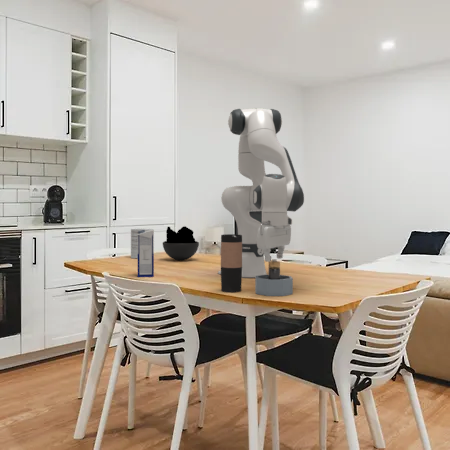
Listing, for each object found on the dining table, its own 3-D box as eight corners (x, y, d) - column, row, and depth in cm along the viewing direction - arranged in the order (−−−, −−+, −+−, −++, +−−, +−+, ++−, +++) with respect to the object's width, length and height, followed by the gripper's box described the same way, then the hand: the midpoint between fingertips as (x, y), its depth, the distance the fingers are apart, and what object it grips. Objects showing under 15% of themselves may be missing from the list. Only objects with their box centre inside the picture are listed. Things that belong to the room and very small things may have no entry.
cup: (248, 292, 173) (248, 276, 173) (271, 288, 182) (271, 273, 182) (276, 297, 164) (276, 280, 164) (299, 292, 173) (299, 277, 173)
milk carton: (153, 276, 210) (153, 229, 209) (137, 277, 208) (137, 229, 208) (153, 274, 217) (153, 229, 216) (137, 274, 215) (137, 229, 215)
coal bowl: (203, 259, 280) (203, 225, 279) (192, 263, 260) (193, 227, 260) (169, 258, 284) (169, 225, 284) (157, 261, 265) (157, 226, 264)
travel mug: (224, 288, 182) (224, 234, 181) (244, 289, 179) (244, 234, 179) (217, 291, 174) (218, 235, 173) (238, 293, 172) (239, 235, 171)
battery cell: (266, 289, 175) (266, 259, 174) (276, 288, 176) (277, 258, 176) (271, 291, 171) (271, 260, 170) (281, 290, 172) (282, 260, 172)
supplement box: (142, 259, 277) (142, 229, 276) (130, 258, 282) (130, 228, 281) (153, 257, 285) (153, 228, 284) (141, 256, 290) (141, 228, 289)
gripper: (269, 222, 162) (269, 264, 163) (294, 219, 179) (293, 257, 180) (252, 221, 165) (252, 262, 166) (278, 219, 183) (277, 256, 183)
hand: (274, 259), depth 173 cm, fingers open, 8 cm apart
